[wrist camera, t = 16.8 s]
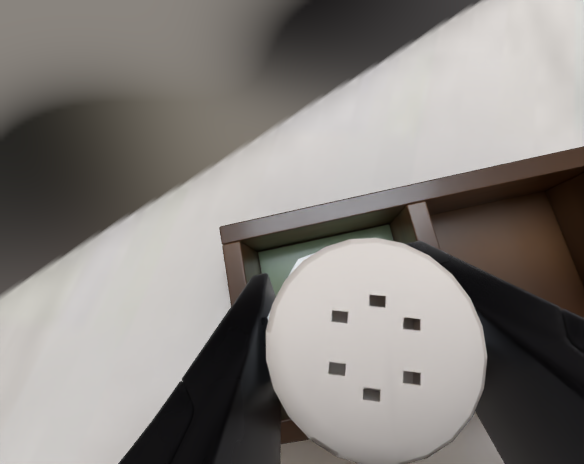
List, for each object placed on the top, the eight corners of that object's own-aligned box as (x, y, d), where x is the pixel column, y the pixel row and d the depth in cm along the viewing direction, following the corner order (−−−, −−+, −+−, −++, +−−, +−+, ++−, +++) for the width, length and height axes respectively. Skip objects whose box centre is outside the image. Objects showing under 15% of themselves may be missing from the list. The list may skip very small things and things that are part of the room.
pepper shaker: (287, 249, 15) (198, 135, 5) (400, 258, 15) (600, 151, 4) (275, 365, 14) (123, 564, 4) (396, 381, 14) (659, 688, 3)
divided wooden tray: (618, 348, 14) (729, 368, 10) (270, 410, 15) (251, 449, 11) (548, 176, 16) (619, 138, 12) (243, 242, 17) (218, 226, 13)
